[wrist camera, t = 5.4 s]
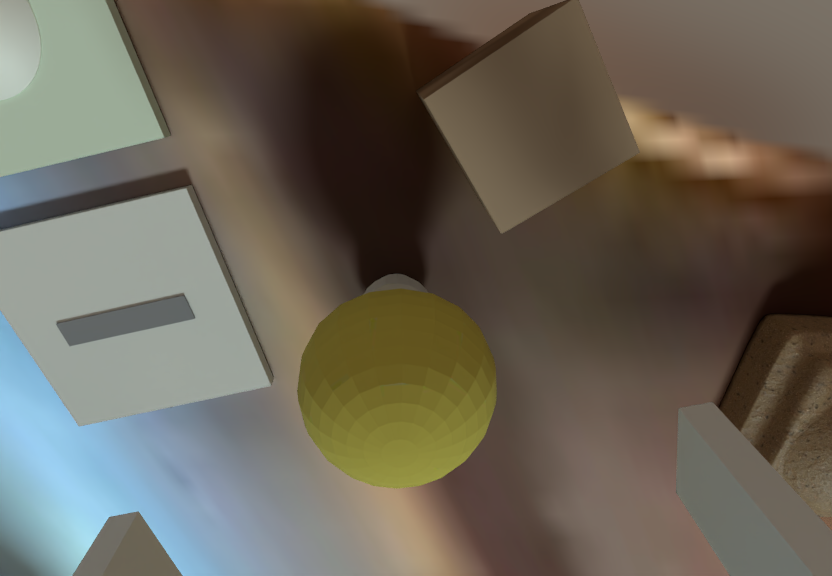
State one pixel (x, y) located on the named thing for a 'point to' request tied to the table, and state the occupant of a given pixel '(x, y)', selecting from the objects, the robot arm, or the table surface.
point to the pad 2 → (129, 307)
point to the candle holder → (789, 402)
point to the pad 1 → (69, 84)
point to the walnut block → (531, 114)
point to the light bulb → (397, 385)
